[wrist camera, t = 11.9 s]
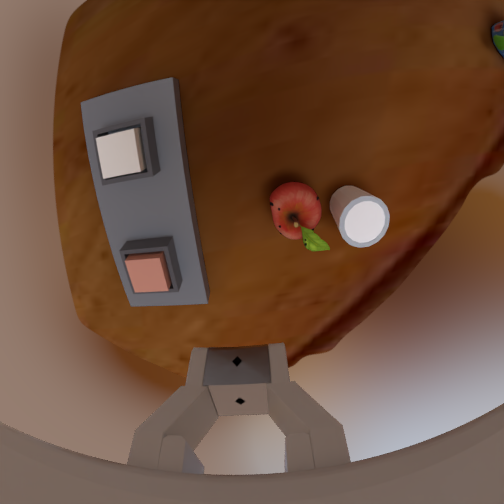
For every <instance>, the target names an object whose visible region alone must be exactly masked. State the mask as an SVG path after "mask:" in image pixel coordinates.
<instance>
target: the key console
mask: <svg viewBox="0 0 504 504" xmlns="http://www.w3.org/2000/svg"><path fill="white" fill-rule="evenodd" d="M81 110H82V118H83V125H84V132H85V138H86V144H87V150H88V156H89V161H90V166H91V171H92V176H93V181H94V186H95V190H96V194H97V199H98V203H99V207H100V211H101V215H102V218H103V222H104V226H105V229H106V233H107V236H108V240H109V243H110V247H111V250H112V253H113V256H114V260H115V263H116V266H117V269H118V272H119V275H120V278H121V281H122V283H123V286H124V289H125V292H126V295H127V297H128V300H129V303H130V305H131V306H164V305H189V304H208V300H209V294H210V290H209V285H208V280H207V274H206V269H205V264H204V258H203V253H202V247H201V242H200V236H199V230H198V224H197V218H196V212H195V206H194V199H193V193H192V186H191V179H190V172H189V165H188V158H187V151H186V143H185V135H184V127H183V119H182V110H181V101H180V92H179V82H178V79H175V78H173V77H172V78H167V79H162V80H157V81H153V82H149V83H145V84H140V85H136V86H133V87H129V88H125V89H122V90H118V91H115V92H111V93H108V94H105V95H102V96H99V97H96V98H93V99H90V100H87V101H84V102H81ZM139 127H141V133H142V140H143V147H144V153H145V159H146V165H147V168H146V169H144V170H142V171H141V172H136V173H130V174H125V175H120V176H115V177H110V178H105V179H103V175H102V170H101V165H100V160H99V154H98V148H97V142H96V138H98V137H102V136H106V135H109V134H113V133H117V132H121V131H125V130H130V129H134V128H139ZM157 251H164V253H165V257H166V261H167V265H168V269H169V273H170V277H171V281H172V283H171V286H170V288H169V291H158V292H135V291H134V288H133V285H132V282H131V279H130V276H129V273H128V270H127V267H126V263H125V260H126V258H127V257H128V255H129V254H134V253H146V252H157Z"/></svg>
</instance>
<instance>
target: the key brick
mask: <svg viewBox="0 0 504 504" xmlns="http://www.w3.org/2000/svg"><path fill="white" fill-rule="evenodd" d="M125 263H126V267H127V270H128V273H129V276H130V279H131V282H132V285H133V288H134V291H135V292H158V291H169V288H170V286H171V283H172V281H171V277H170V273H169V269H168V265H167V261H166V257H165V253H164V251H157V252H146V253H134V254H129V255H128V257H127V258H126V260H125Z"/></svg>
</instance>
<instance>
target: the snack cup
mask: <svg viewBox="0 0 504 504" xmlns="http://www.w3.org/2000/svg"><path fill="white" fill-rule="evenodd" d="M492 37H493V43H494V45H495V46H496V48H497V50H498V51H499V53H500V54H501V55H502V56H503V58H504V21H501V22H498V23H496V24H494V25H493V26H492Z"/></svg>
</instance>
